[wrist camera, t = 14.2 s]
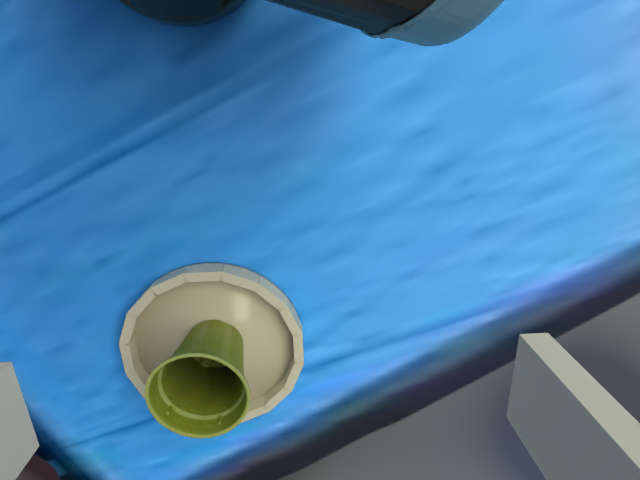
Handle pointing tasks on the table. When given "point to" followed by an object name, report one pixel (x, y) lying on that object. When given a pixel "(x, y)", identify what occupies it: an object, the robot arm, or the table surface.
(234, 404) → the plant pot
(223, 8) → the robot arm
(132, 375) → the saucer
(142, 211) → the table surface
